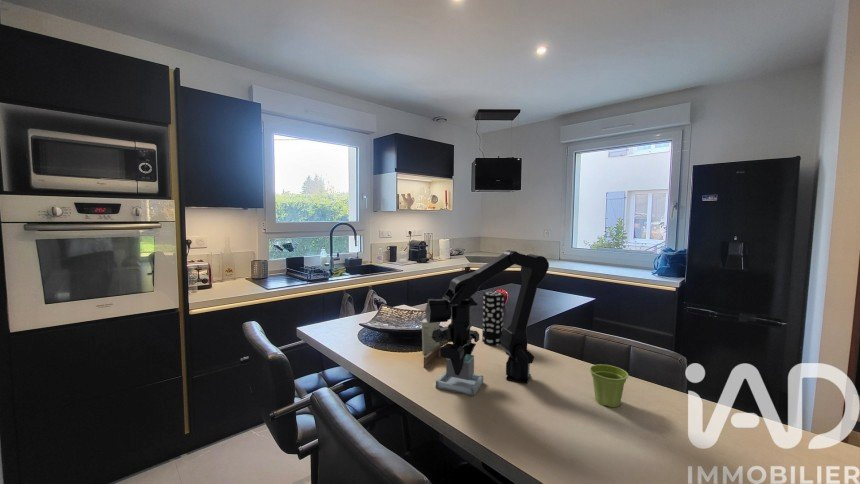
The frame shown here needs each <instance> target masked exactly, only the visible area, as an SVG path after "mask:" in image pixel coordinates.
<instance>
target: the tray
mask: <svg viewBox="0 0 860 484" xmlns="http://www.w3.org/2000/svg"><path fill="white" fill-rule="evenodd" d="M483 383H484V375H481V374H476V373H474V374H473V375H472V376H471V378H470V379H469V380H465V379H460V378H455V377H451V376H446V371H445V372H443V373H442V375H441V376H440V377H438V378H437V380H436V381H435V388H436V389H440V390H442V391H443V390H444V391H446V392H447V391H448V392H452V393H458V394H461V395H466V396H470V397H475V395H476V393H477V392H478V390H479V389H480V388H481V386H482V385H483Z"/></svg>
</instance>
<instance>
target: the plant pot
mask: <svg viewBox="0 0 860 484" xmlns="http://www.w3.org/2000/svg"><path fill="white" fill-rule="evenodd" d="M589 372H590V373H591V376H592V383H593V388H594V389H593V390H594V397H595V398H594V399H595V401H596V402H597V403H598V404H600V405H601V406H607V407H609V408H618V407H619V406H620V405H621V403H622V398H623V392H624V388H625V387H624V385H625V383H626V381H627V380H628V378H629V373H628V372H627V371H626V370H625V369H622V368H620V367H617V366H614V365H610V364H600V363H599V364H593V365H591V366H590V367H589Z"/></svg>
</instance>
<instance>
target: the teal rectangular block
mask: <svg viewBox="0 0 860 484" xmlns="http://www.w3.org/2000/svg"><path fill="white" fill-rule="evenodd" d="M445 359H446V361H445V363H446V366H445V372H446V376H451V377H455V378H460V379H465V380H469V379H470V378H471V376H472V375H473V374H475V355H474V354H471V355H469V354H466V357H465V360H464V363H463V365H462V368H461V371H460V374H459V375H455V372H454V369H453V365H452V362H451V360H450V359H448V358H445Z"/></svg>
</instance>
